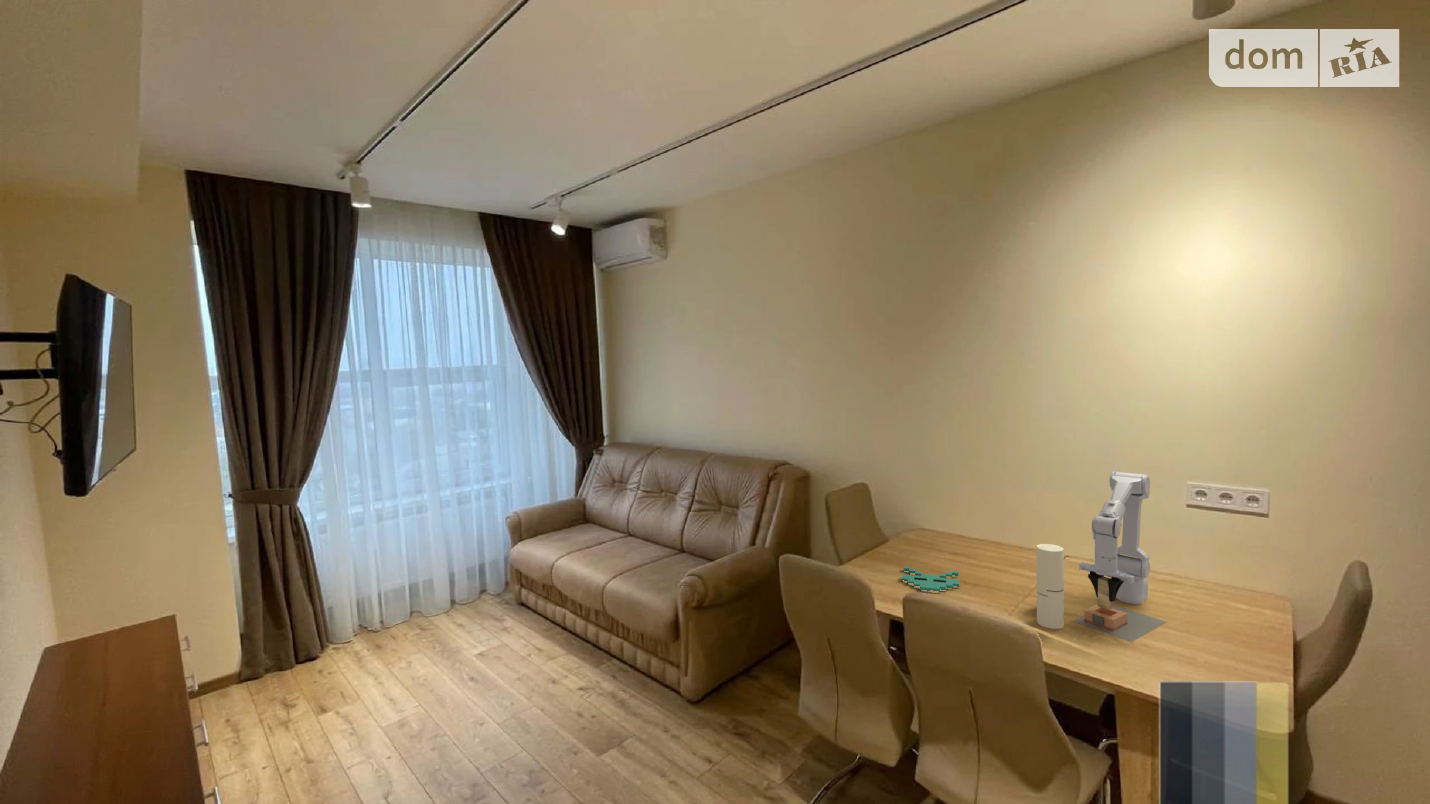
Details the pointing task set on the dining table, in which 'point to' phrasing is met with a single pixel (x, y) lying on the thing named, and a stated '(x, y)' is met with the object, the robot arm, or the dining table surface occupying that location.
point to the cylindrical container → (1050, 586)
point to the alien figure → (930, 580)
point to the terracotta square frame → (1105, 617)
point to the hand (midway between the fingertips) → (1105, 598)
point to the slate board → (1129, 625)
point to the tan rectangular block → (1104, 594)
